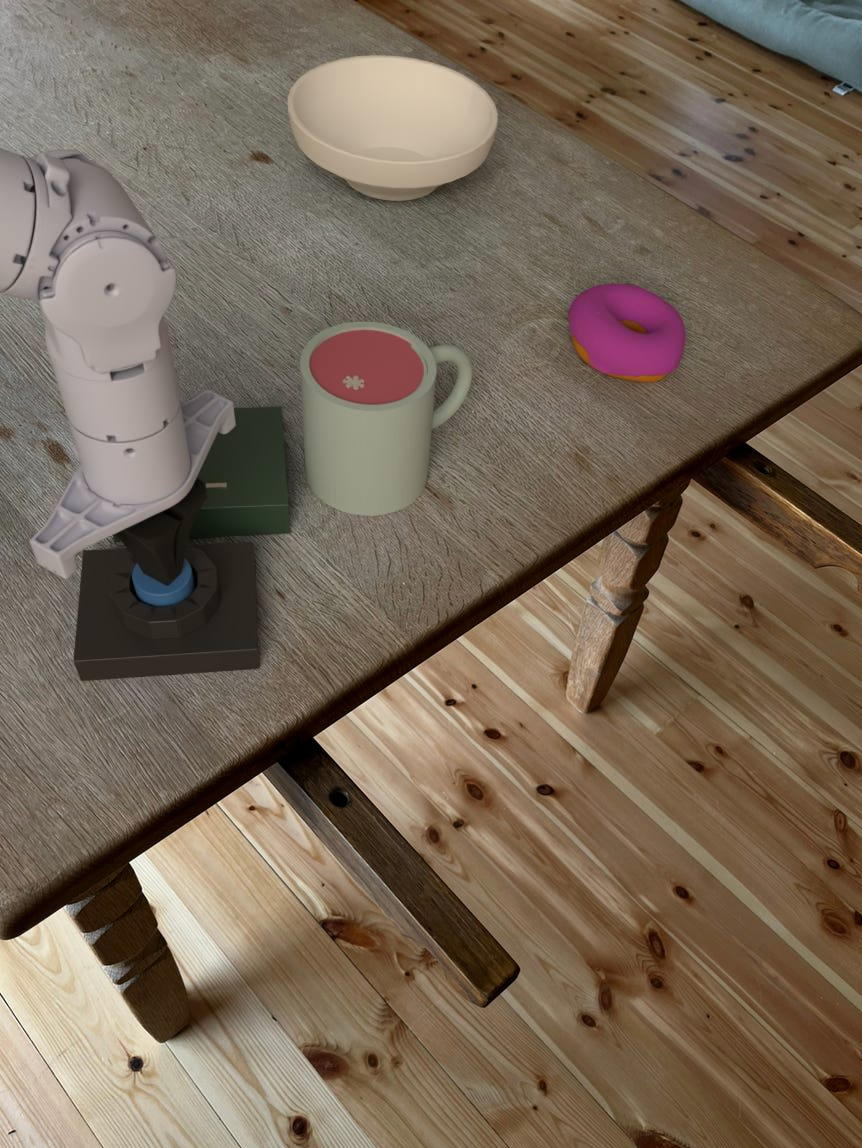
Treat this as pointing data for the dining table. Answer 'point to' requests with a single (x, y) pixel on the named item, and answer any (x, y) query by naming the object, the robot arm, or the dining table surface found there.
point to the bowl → (392, 123)
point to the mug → (373, 414)
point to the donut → (627, 332)
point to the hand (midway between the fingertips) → (162, 572)
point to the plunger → (163, 588)
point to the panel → (245, 478)
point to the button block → (167, 617)
